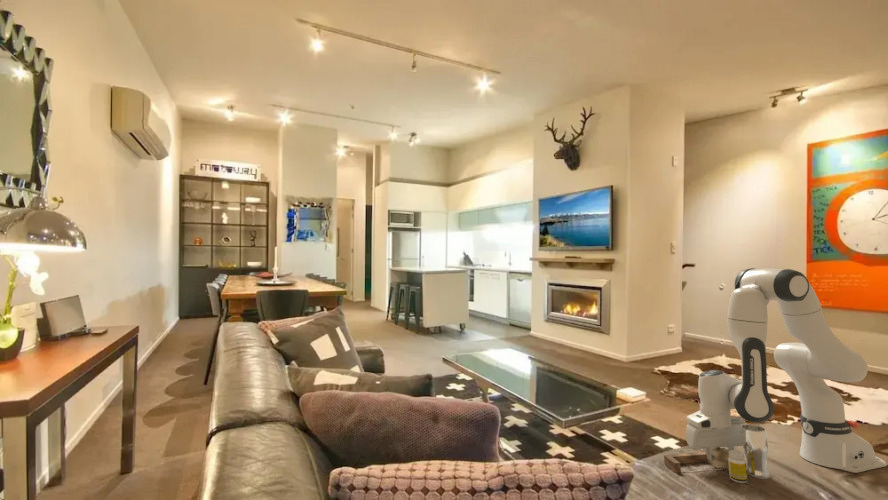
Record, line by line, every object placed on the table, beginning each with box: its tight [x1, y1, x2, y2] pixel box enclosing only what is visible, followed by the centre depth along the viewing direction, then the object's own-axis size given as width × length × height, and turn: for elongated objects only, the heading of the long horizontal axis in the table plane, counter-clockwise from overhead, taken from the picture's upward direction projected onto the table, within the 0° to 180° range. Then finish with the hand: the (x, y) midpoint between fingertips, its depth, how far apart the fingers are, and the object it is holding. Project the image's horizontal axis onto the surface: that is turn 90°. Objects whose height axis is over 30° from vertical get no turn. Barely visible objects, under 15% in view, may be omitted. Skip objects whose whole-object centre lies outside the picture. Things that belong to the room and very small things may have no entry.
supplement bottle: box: [728, 449, 748, 484], centre depth 129 cm, size 5×5×8 cm
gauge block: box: [708, 447, 729, 469], centre depth 138 cm, size 4×4×7 cm
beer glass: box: [741, 423, 770, 480], centre depth 131 cm, size 7×7×15 cm
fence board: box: [663, 451, 724, 473], centre depth 139 cm, size 20×8×3 cm, turn 92°
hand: (719, 459), depth 138 cm, fingers closed on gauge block, 4 cm apart
